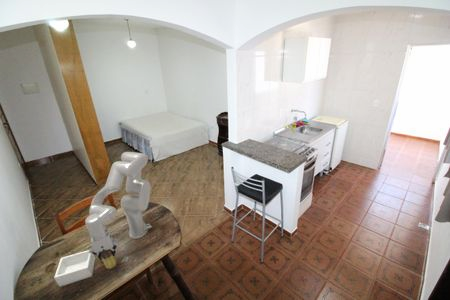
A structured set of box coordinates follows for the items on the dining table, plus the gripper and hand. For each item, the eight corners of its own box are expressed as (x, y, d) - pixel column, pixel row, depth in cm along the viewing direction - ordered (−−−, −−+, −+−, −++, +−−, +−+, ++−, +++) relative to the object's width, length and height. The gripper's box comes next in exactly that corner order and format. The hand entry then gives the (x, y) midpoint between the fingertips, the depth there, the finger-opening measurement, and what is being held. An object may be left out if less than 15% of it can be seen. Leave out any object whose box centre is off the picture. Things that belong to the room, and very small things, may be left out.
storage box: (95, 258, 136) (91, 249, 132) (91, 276, 125) (87, 267, 121) (65, 266, 131) (60, 257, 127) (59, 287, 120) (54, 277, 116)
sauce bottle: (108, 261, 133) (99, 238, 124) (118, 260, 134) (110, 237, 125) (104, 271, 127) (94, 248, 119) (114, 270, 128) (105, 247, 119)
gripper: (116, 224, 125) (123, 246, 133) (82, 233, 119) (92, 255, 127) (115, 234, 118) (123, 256, 126) (79, 244, 113) (90, 266, 121)
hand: (107, 256), depth 127 cm, fingers closed on sauce bottle, 6 cm apart
